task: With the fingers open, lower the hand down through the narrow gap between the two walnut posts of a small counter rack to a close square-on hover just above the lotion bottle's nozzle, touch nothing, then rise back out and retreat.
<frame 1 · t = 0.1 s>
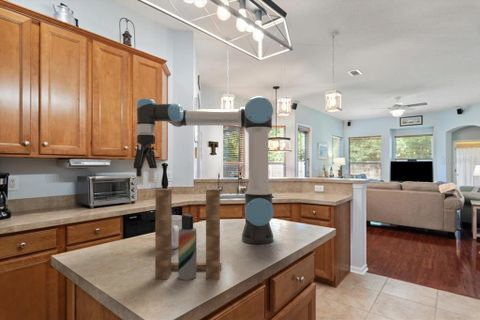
hand: (145, 183, 117), 28 cm above the counter, fingers open, 13 cm apart
rack: (188, 276, 86), on the counter
lotion bottle: (187, 277, 86), on the counter
mug: (171, 248, 116), on the counter
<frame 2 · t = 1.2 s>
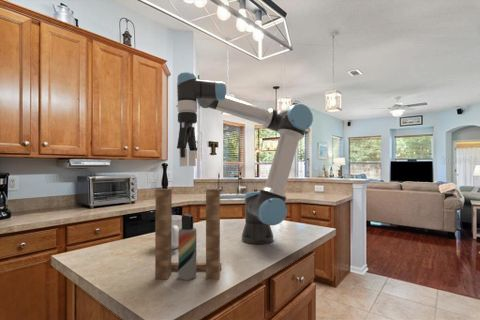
hand: (188, 166, 106), 35 cm above the counter, fingers open, 13 cm apart
nothing on the counter moved.
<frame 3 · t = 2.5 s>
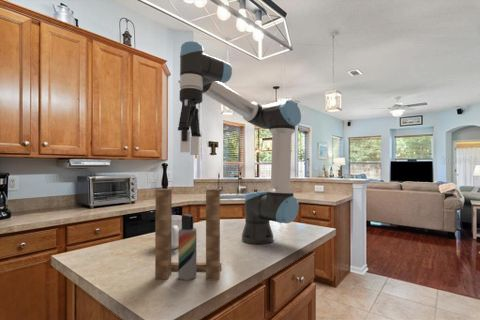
hand: (190, 153, 88), 40 cm above the counter, fingers open, 13 cm apart
nothing on the counter moved.
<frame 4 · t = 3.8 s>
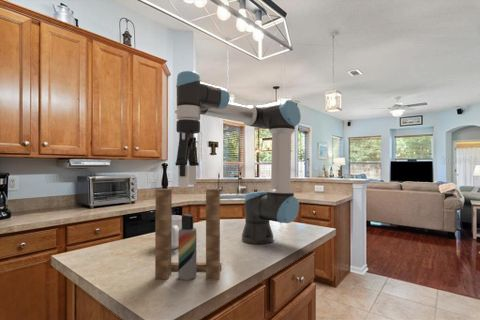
hand: (188, 186, 86), 29 cm above the counter, fingers open, 13 cm apart
nothing on the counter moved.
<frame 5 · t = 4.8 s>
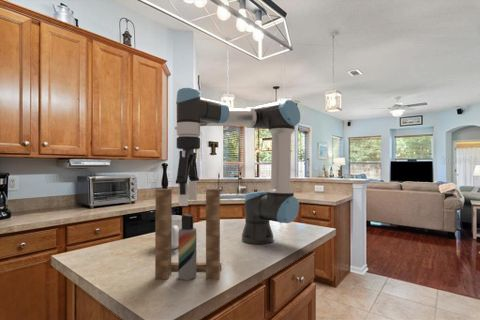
hand: (188, 202, 86), 24 cm above the counter, fingers open, 13 cm apart
nothing on the counter moved.
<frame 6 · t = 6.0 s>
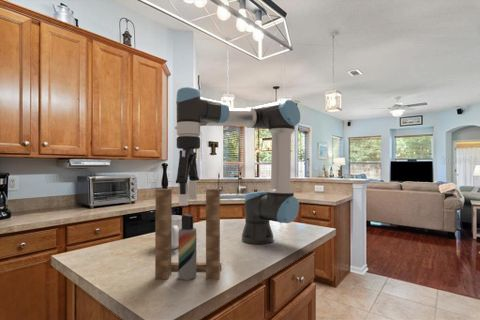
hand: (188, 202, 86), 24 cm above the counter, fingers open, 13 cm apart
nothing on the counter moved.
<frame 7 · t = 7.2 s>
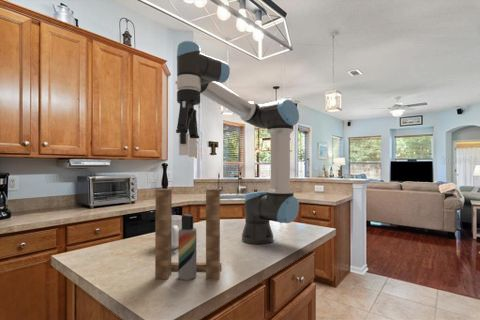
hand: (188, 156, 87), 39 cm above the counter, fingers open, 13 cm apart
nothing on the counter moved.
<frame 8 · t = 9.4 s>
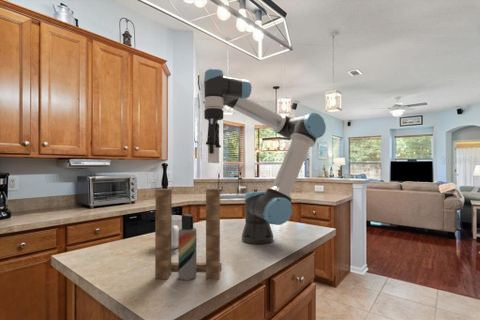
hand: (213, 163, 105), 37 cm above the counter, fingers open, 13 cm apart
nothing on the counter moved.
at the end: lotion bottle moved 0.2 cm from its start; lotion bottle tilted 0°; the gripper is holding nothing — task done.
